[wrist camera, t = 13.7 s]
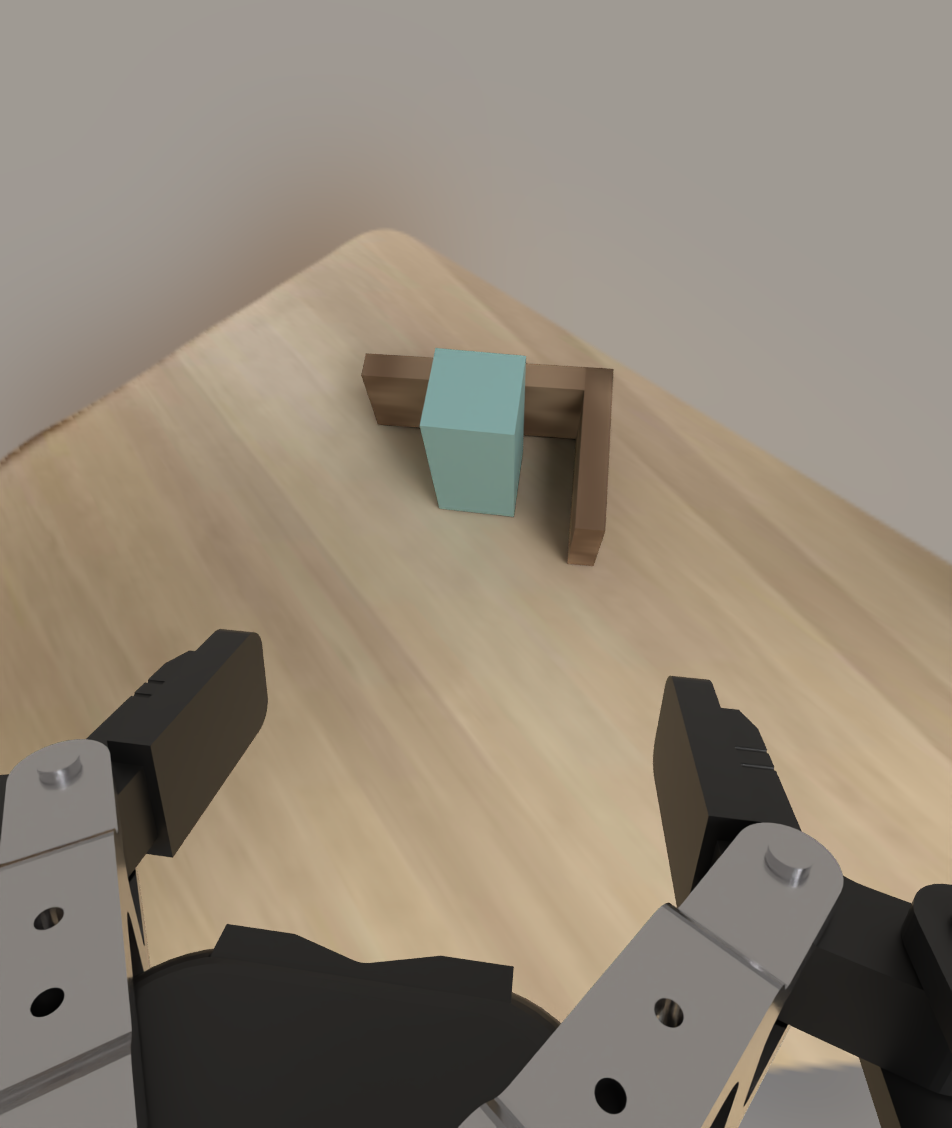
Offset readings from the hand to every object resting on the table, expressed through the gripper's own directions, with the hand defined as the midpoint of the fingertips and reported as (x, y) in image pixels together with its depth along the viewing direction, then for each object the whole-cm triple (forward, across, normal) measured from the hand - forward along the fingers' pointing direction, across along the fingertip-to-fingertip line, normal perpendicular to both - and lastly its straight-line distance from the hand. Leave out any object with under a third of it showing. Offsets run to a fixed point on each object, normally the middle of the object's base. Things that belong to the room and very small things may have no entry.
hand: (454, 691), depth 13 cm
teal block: (+28, +3, +4) cm, 28 cm away
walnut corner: (+28, +3, +4) cm, 28 cm away
